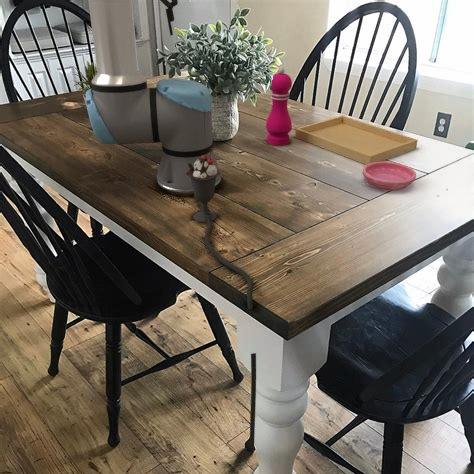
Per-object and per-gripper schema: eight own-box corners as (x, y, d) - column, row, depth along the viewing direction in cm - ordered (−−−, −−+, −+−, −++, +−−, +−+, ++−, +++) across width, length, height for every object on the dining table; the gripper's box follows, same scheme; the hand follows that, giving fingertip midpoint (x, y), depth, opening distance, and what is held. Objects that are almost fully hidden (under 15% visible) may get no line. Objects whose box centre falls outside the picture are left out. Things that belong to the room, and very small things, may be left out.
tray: (416, 148, 150) (418, 139, 149) (369, 165, 140) (370, 156, 139) (341, 123, 168) (342, 115, 166) (294, 137, 158) (295, 128, 156)
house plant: (68, 110, 179) (59, 57, 169) (110, 105, 184) (103, 53, 174) (77, 123, 168) (68, 67, 159) (121, 117, 173) (115, 62, 164)
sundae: (227, 216, 117) (226, 148, 108) (204, 227, 113) (201, 157, 104) (205, 207, 121) (203, 140, 112) (183, 217, 117) (178, 149, 108)
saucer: (401, 171, 137) (403, 159, 135) (423, 192, 127) (425, 179, 125) (353, 174, 135) (355, 162, 133) (372, 196, 125) (374, 183, 123)
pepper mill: (283, 148, 151) (287, 71, 139) (260, 143, 154) (262, 68, 142) (295, 140, 156) (299, 66, 144) (273, 135, 159) (275, 62, 147)
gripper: (176, -53, 149) (191, 32, 157) (86, -38, 149) (105, 47, 157) (176, -59, 142) (191, 30, 150) (81, -43, 142) (102, 45, 150)
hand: (147, 39), depth 153 cm, fingers open, 13 cm apart
